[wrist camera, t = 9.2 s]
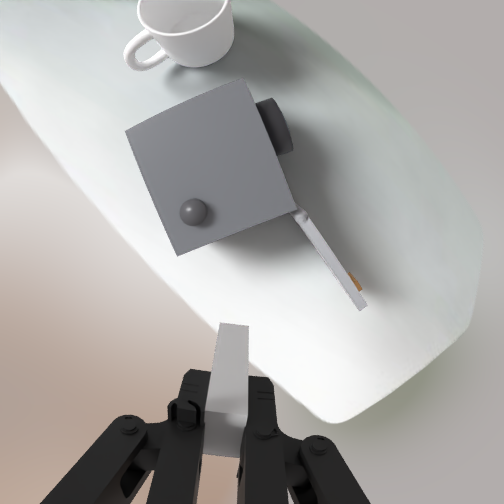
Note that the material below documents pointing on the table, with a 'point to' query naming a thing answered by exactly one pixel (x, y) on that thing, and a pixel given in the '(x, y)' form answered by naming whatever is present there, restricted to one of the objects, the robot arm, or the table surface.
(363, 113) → the table surface
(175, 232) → the camera body
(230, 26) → the cup
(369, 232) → the table surface
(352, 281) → the side door
